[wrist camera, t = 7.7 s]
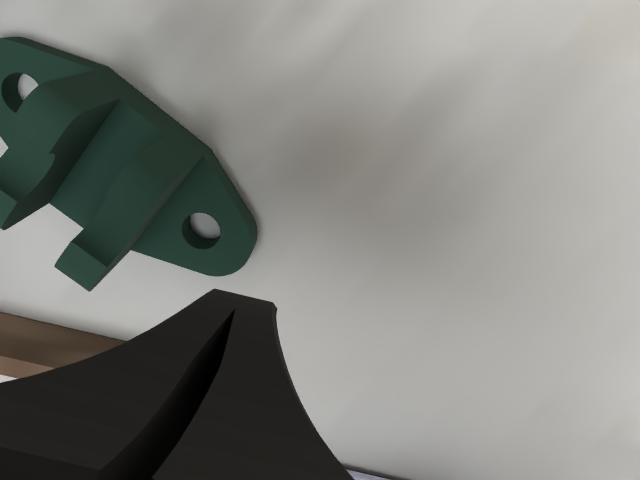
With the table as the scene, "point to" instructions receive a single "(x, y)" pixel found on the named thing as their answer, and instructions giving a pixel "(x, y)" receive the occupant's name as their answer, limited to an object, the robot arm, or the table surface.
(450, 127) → the table surface
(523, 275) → the table surface
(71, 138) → the mount
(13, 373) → the dock bay
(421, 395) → the table surface
